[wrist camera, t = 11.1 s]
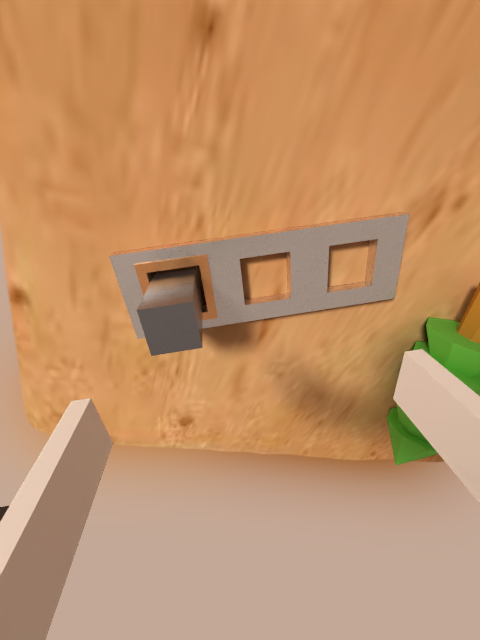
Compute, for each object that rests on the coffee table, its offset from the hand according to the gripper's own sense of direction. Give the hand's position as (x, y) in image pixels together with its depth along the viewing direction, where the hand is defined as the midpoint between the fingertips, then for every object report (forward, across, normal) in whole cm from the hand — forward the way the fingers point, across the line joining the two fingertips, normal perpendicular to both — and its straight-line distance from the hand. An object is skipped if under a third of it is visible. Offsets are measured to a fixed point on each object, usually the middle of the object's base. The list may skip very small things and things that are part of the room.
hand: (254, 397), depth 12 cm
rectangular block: (+22, -6, -3) cm, 22 cm away
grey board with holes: (+22, +4, -3) cm, 22 cm away
